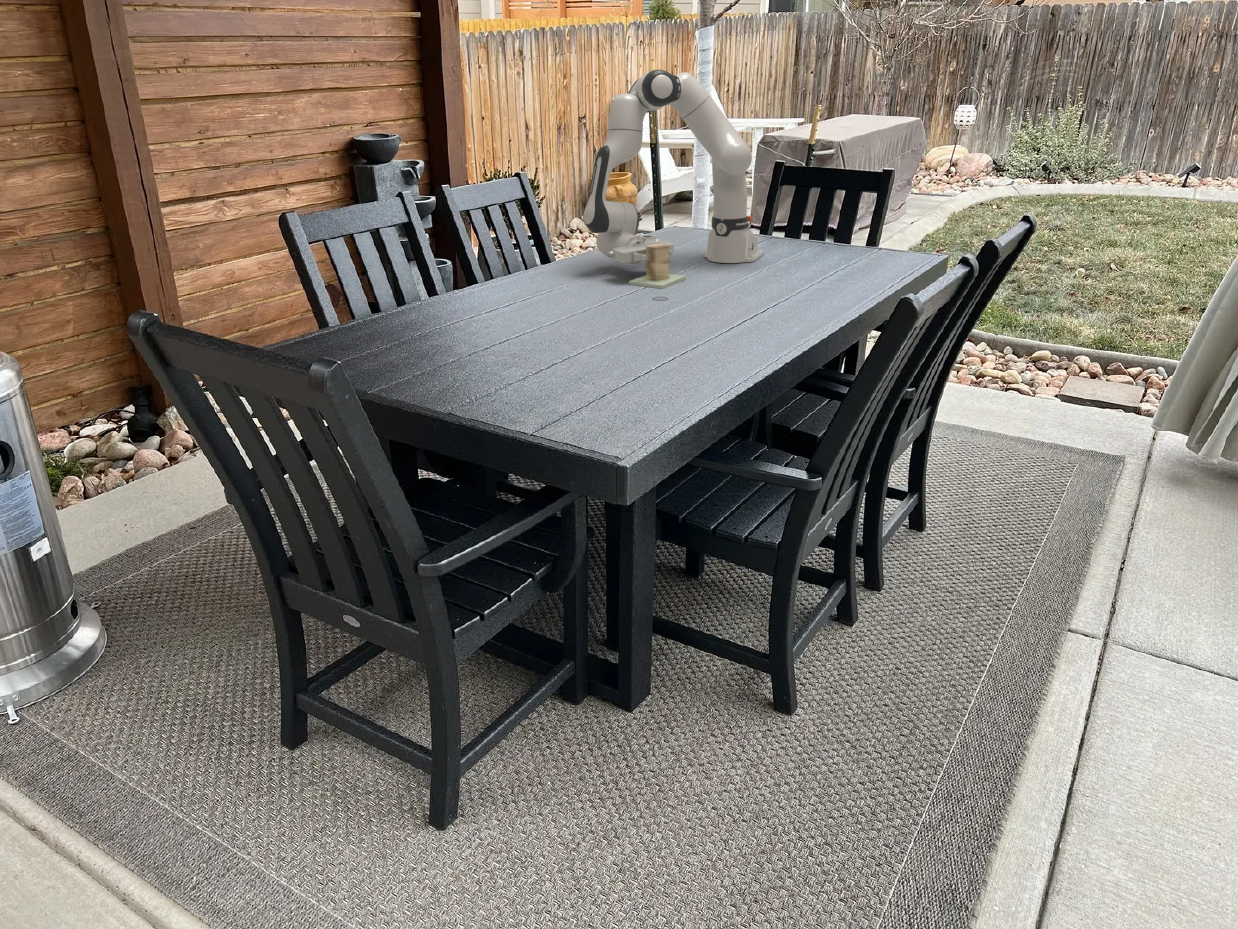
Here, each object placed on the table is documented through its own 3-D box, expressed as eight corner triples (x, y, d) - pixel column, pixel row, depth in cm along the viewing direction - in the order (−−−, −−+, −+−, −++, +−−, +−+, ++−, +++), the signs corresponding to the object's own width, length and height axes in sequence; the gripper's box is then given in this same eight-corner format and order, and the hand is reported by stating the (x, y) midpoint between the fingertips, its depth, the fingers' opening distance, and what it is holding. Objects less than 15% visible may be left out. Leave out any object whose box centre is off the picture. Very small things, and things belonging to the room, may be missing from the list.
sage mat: (652, 275, 292) (652, 272, 292) (685, 279, 286) (685, 276, 286) (628, 284, 282) (628, 281, 281) (662, 288, 276) (662, 285, 275)
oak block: (646, 278, 284) (646, 245, 280) (659, 275, 287) (659, 243, 283) (656, 281, 280) (655, 248, 276) (669, 278, 283) (669, 245, 279)
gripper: (604, 243, 284) (630, 250, 274) (657, 235, 294) (684, 241, 284) (605, 263, 287) (630, 271, 276) (657, 254, 297) (684, 261, 287)
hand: (658, 255), depth 280 cm, fingers open, 8 cm apart
